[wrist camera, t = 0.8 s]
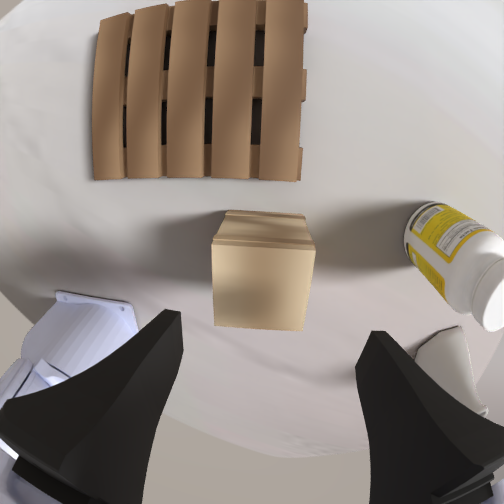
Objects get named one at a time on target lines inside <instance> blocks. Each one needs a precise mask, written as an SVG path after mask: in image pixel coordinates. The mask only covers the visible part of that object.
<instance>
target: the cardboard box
mask: <svg viewBox="0 0 504 504" xmlns="http://www.w3.org/2000/svg"><path fill="white" fill-rule="evenodd" d="M211 248H212V283H213V307H214V326H224V327H236V328H250V329H266V330H286V331H303V325H304V320H305V315H306V309H307V303H308V298H309V292H310V286H311V280H312V273H313V267H314V260H315V253H316V250H315V243H314V240H312V239H311V236H310V233H309V230H308V227H307V225H306V222H305V216H303V214H292V213H277V212H260V211H242V210H228V212H226V214H225V218H224V220H223V222H222V224H221V226H220V228H219V230H218V232H217V234H216V235H214V237H213V242H212V244H211Z"/></svg>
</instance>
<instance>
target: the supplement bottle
mask: <svg viewBox="0 0 504 504" xmlns="http://www.w3.org/2000/svg"><path fill="white" fill-rule="evenodd" d="M404 248H405V251H406V254H407V256H408V258H409V259H410V260H411V262H412V263H413V264H414V265H415V266H416V267H417V268H418V269H419V271H420V272H421V273H422V274H423V275H424V276H425V277H426V278H427V279H428V281H429V282H430V283H431V284H432V285H433V286H434V287H435V289H436V290H437V291H438V292H439V293H440V295H441V296H442V297H443V298H444V299H445V301H446V302H447V303H448V304H449V305H450V306H451V307H452V309H453V310H455V311H456V312H458V313H460V314H463V315H471V314H472V315H473V316H474V318H475V319H476V321H477V322H478V323H479V324H480V325H481V326H482V327H483V329H485V330H486V331H489V332H493V331H497V330H499V329H501V328H502V327H504V240H503V239H502V238H501V237H500V236H498V235H497V234H496V233H494V232H493V231H491V230H490V229H488V228H487V227H485V226H483V225H482V224H480V223H478V222H477V221H475V220H473V219H472V218H470V217H468V216H466V215H465V214H463V213H461V212H459V211H457V210H456V209H454V208H452V207H450V206H448V205H446V204H443V203H439V202H431V203H428V204H425V205H423V206H422V207H420V208H419V209H418V210H417V211H416V212H415V213H414V214H413V215H412V216H411V218H410V220H409V222H408V224H407V226H406V229H405V234H404Z"/></svg>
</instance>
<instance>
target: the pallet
mask: <svg viewBox="0 0 504 504" xmlns="http://www.w3.org/2000/svg"><path fill="white" fill-rule="evenodd" d="M307 28H308V3H304V0H219V1H211V0H185V1H178V2H175V6H170V7H169V6H168V5H167V3H166V4H161V5H156V6H151V7H146V8H142V9H138V10H135V14H132V15H131V14H130V13H128V12H126V13H123V14H119V15H116V16H113V17H109V18H106V19H103V20H101V21H100V27H99V33H98V40H97V48H96V56H95V66H94V79H93V97H92V148H93V167H94V180H109V179H121V178H124V177H128V179H130V178H159V177H161V176H167V178H202V177H203V176H211V178H235V179H249V177H252V178H259V180H275V181H289V182H296V181H297V180H299V181H300V179H301V167H302V153H303V148H301V147H299V138H300V121H301V102H304V101H305V100H306V77H307V69H303V37H304V34H305V33H306V30H307ZM255 30H258V31H265V48H264V66H254V50H255ZM211 31H217V36H216V51H215V66H210V67H207V55H208V40H209V32H211ZM166 36H171V46H170V59H169V70H164V71H163V66H164V52H165V41H166ZM129 43H131V47H130V57H129V69H128V76H127V77H125V64H126V53H127V44H129ZM205 99H213V117H212V143H204V124H205ZM252 99H262V119H261V141H260V144H251V120H252ZM166 101H167V144H163V145H161V109H162V102H166ZM125 106H127V116H126V136H127V147H123V107H125Z"/></svg>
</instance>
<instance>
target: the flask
mask: <svg viewBox="0 0 504 504" xmlns="http://www.w3.org/2000/svg"><path fill="white" fill-rule="evenodd" d="M415 362H416V363H417V364H418V365H419V366H420V367H421V368H422V369H423V370H424V371H425V372H426V373H427V374H428V375H429V376H430V377H431V378H432V379H433V380H434V381H435V382H436V383H437V384H438V385H439V386H440V387H442V388H443V389H444V390H445V391H446V392H448V393H449V394H450V395H451V396H453V397H454V398H455V399H456V400H458V401H459V402H460V403H462V404H463V405H465V406H466V407H468V408H469V409H471V410H472V411H474V412H475V413H477V414H479V415H480V416H482V417H485V416H486V415H487V414H488V409H487V407H486V406H485V405H484V406H483V405H482V403H481V401H480V399H479V397H478V394H477V391H476V387H475V384H474V378H473V372H472V366H471V360H470V354H469V348H468V343H467V339H466V336H465V334H464V331H463V329H462V327H461V326H459V327H456V328H452V329H449V330H445V331H441V332H440V333H438V334H437V335H436V336H434V337H433V338H432V339H431V340H429V341H428V342H427V343H425V344H424V345H423V346H421V347H420V348H419V349H418V351H417V355H416V358H415Z"/></svg>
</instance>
